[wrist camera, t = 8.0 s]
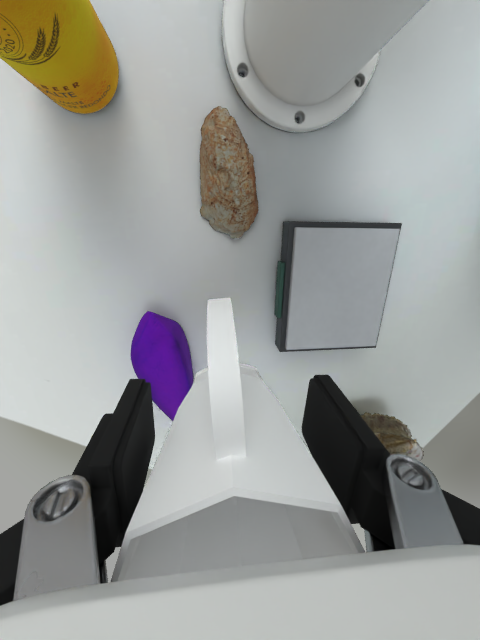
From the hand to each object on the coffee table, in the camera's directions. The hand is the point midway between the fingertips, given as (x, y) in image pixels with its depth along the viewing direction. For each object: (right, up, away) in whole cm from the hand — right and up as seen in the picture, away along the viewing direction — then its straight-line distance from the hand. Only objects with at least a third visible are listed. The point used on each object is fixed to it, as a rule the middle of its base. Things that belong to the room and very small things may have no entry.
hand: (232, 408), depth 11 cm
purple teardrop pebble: (-7, -1, +18) cm, 20 cm away
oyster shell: (-1, +16, +13) cm, 21 cm away
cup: (0, +1, +3) cm, 3 cm away
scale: (+10, +7, +17) cm, 21 cm away
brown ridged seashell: (+17, -13, +20) cm, 29 cm away
